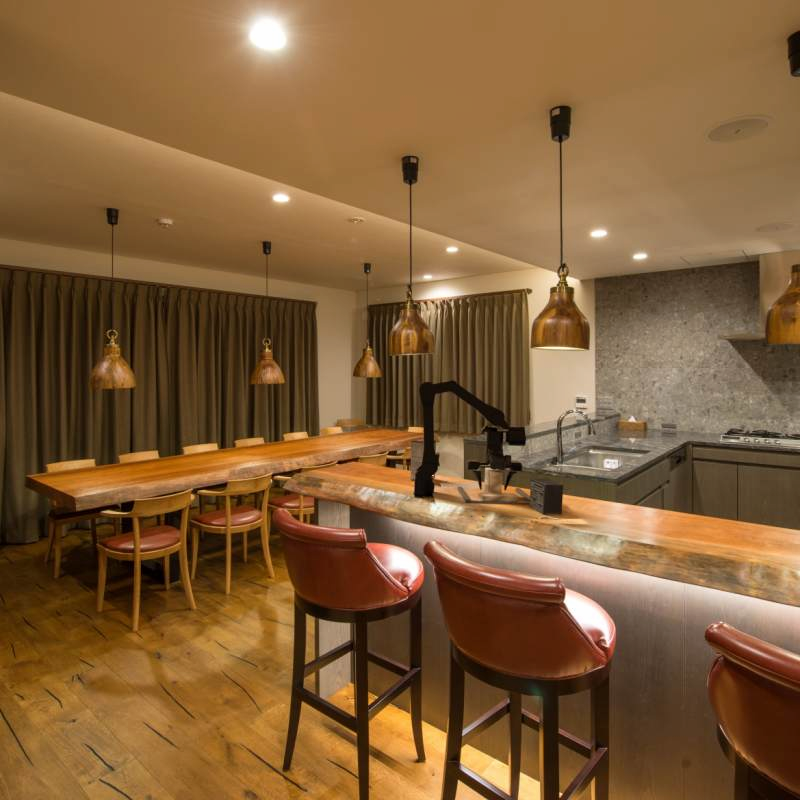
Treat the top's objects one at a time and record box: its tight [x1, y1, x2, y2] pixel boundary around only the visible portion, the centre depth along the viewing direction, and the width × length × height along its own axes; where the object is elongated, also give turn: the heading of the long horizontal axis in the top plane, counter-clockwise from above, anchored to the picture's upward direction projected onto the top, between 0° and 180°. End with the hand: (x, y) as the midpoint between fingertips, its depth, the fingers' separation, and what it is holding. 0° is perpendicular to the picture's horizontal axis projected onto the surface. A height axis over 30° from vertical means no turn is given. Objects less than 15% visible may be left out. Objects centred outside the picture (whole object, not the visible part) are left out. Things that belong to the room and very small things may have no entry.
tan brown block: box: [483, 468, 504, 493], centre depth 179 cm, size 4×10×10 cm, turn 1°
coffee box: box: [410, 438, 437, 480], centre depth 213 cm, size 9×6×16 cm
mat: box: [439, 482, 485, 490], centre depth 196 cm, size 16×14×1 cm
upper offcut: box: [477, 492, 520, 502], centre depth 170 cm, size 12×5×2 cm, turn 97°
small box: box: [529, 477, 564, 518], centre depth 158 cm, size 11×6×10 cm, turn 9°
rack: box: [456, 486, 530, 505], centre depth 176 cm, size 22×21×2 cm
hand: (492, 490), depth 179 cm, fingers open, 8 cm apart
